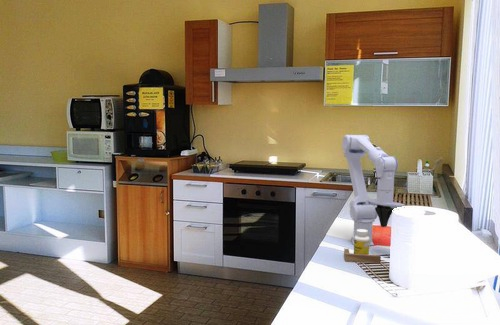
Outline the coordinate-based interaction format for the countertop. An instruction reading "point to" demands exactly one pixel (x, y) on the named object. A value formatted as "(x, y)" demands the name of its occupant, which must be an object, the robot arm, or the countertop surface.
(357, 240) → the supplement bottle
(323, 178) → the countertop surface
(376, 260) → the wooden l-shaped block
